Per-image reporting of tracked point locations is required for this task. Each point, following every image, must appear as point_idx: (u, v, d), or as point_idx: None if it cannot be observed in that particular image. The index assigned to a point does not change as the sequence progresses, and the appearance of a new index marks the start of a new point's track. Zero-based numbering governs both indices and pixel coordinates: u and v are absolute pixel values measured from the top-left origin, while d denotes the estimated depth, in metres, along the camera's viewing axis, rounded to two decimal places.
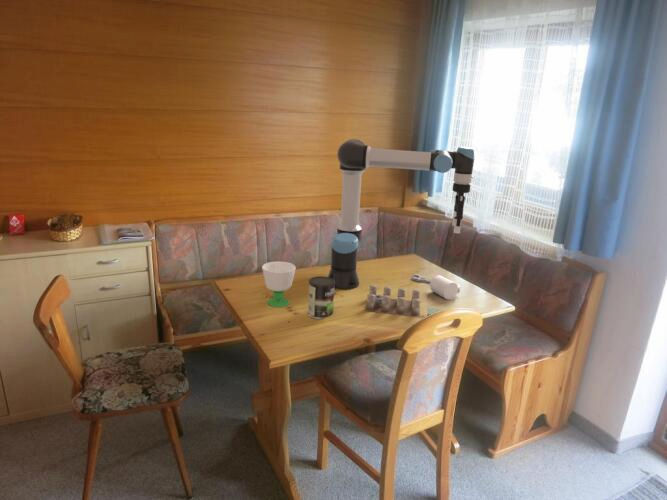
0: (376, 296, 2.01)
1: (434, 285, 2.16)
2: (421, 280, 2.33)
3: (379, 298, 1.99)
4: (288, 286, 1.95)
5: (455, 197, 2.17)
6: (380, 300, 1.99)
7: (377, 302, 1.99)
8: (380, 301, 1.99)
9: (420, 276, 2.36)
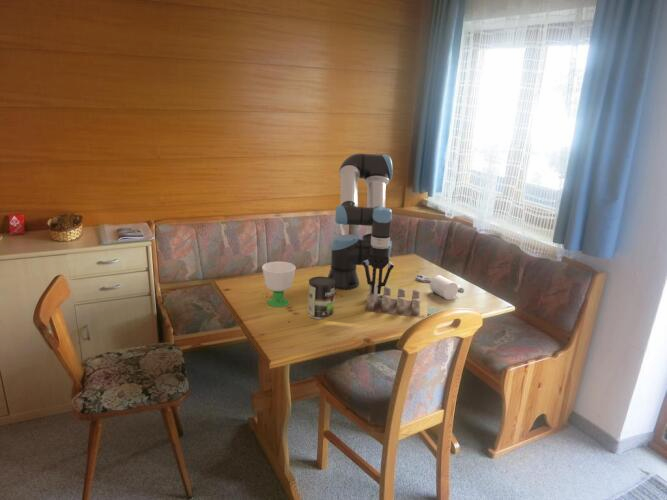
0: (379, 296, 2.01)
1: (434, 285, 2.16)
2: (425, 280, 2.33)
3: None
4: (288, 286, 1.95)
5: None
6: None
7: (380, 302, 1.99)
8: None
9: (424, 276, 2.36)
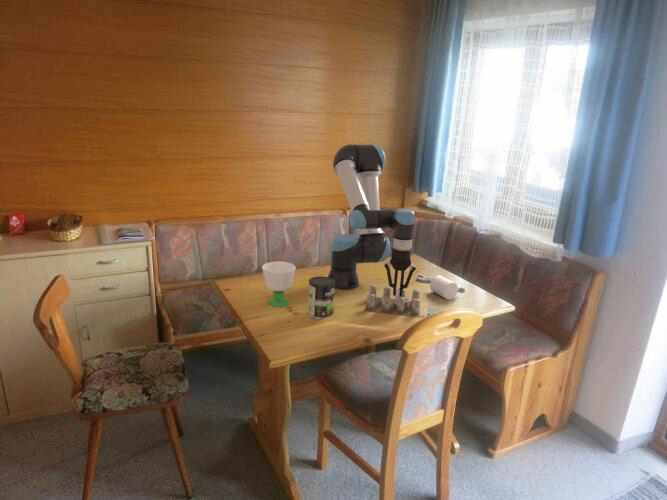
0: None
1: (434, 285, 2.16)
2: (426, 280, 2.32)
3: None
4: (288, 286, 1.95)
5: None
6: (405, 303, 1.97)
7: None
8: (405, 304, 1.97)
9: (424, 276, 2.36)
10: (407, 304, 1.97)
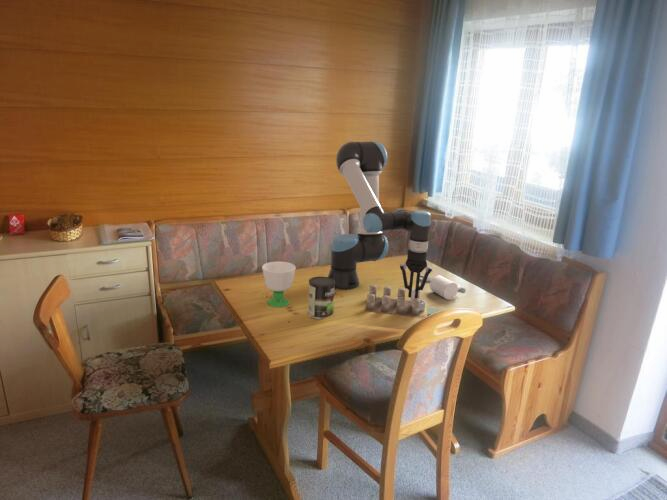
0: None
1: (434, 285, 2.16)
2: (426, 280, 2.32)
3: (420, 302, 1.97)
4: (288, 286, 1.95)
5: None
6: (421, 304, 1.96)
7: None
8: (421, 305, 1.96)
9: None
10: (423, 306, 1.97)
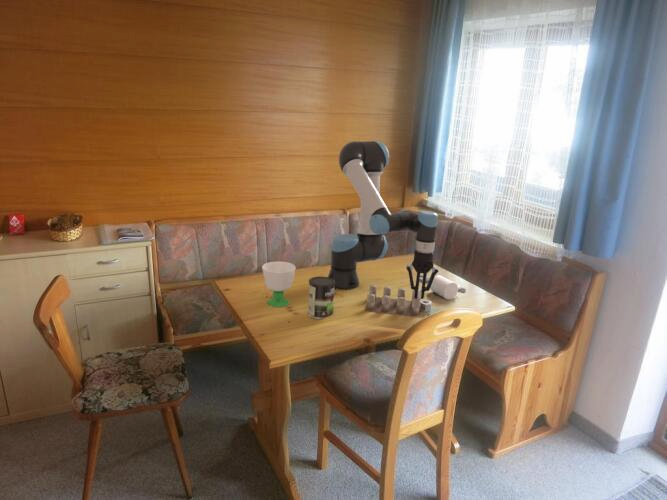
0: (423, 301, 1.98)
1: (434, 285, 2.16)
2: (427, 280, 2.32)
3: (426, 303, 1.96)
4: (288, 286, 1.95)
5: None
6: (427, 305, 1.96)
7: (424, 307, 1.96)
8: (427, 306, 1.96)
9: None
10: (429, 306, 1.96)
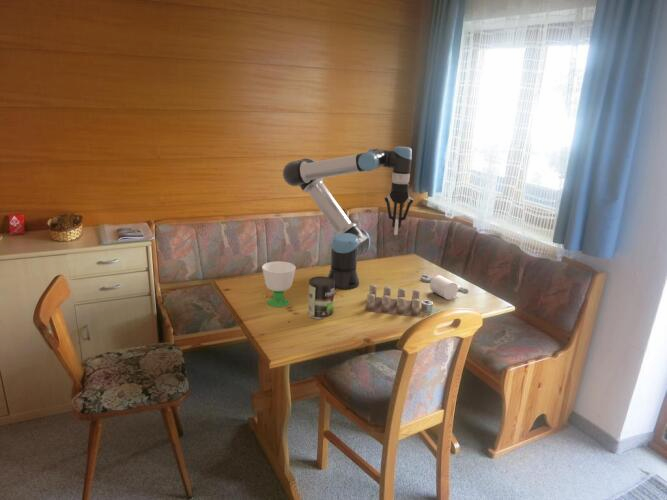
0: (424, 301, 1.98)
1: (434, 285, 2.16)
2: (430, 281, 2.33)
3: (428, 303, 1.96)
4: (288, 286, 1.95)
5: None
6: (429, 305, 1.96)
7: (426, 307, 1.96)
8: (429, 306, 1.96)
9: (429, 277, 2.36)
10: (430, 307, 1.96)
